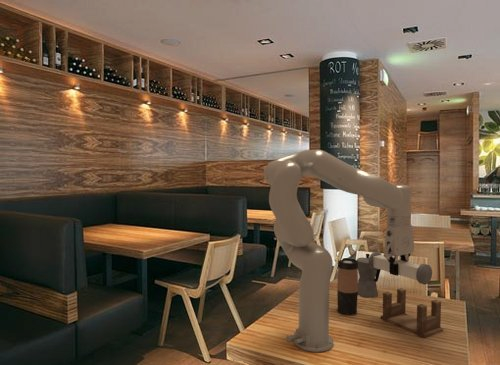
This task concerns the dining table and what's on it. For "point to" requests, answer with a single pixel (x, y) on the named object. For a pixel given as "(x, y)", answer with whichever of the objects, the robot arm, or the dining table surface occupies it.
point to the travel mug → (347, 286)
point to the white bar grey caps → (402, 268)
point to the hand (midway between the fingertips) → (398, 272)
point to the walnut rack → (418, 325)
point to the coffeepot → (367, 278)
